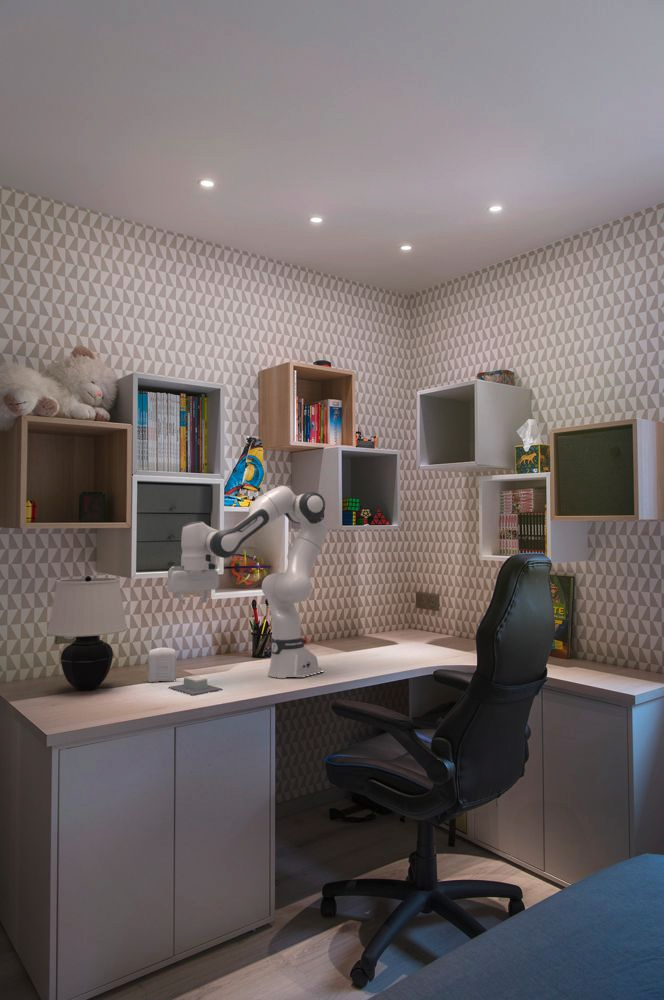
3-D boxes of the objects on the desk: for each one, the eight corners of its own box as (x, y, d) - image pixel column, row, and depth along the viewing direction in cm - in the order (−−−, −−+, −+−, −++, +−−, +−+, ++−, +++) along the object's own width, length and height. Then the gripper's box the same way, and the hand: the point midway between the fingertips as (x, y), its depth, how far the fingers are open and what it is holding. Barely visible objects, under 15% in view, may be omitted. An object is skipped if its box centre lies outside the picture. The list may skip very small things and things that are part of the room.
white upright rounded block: (176, 679, 265) (176, 646, 266) (176, 681, 261) (176, 648, 261) (147, 680, 262) (147, 647, 263) (147, 683, 258) (147, 649, 259)
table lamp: (118, 678, 267) (119, 572, 268) (134, 692, 243) (135, 576, 245) (41, 686, 254) (43, 575, 256) (51, 702, 230) (52, 579, 232)
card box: (207, 688, 246) (207, 678, 246) (196, 690, 243) (196, 680, 243) (194, 685, 252) (194, 675, 252) (183, 687, 249) (183, 677, 249)
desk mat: (197, 683, 258) (197, 681, 258) (222, 690, 246) (222, 688, 246) (168, 688, 249) (168, 686, 249) (192, 695, 238) (192, 694, 238)
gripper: (172, 566, 250) (172, 606, 249) (221, 564, 263) (221, 602, 263) (163, 566, 254) (163, 604, 253) (211, 564, 268) (211, 600, 267)
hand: (193, 603), depth 258 cm, fingers open, 8 cm apart
